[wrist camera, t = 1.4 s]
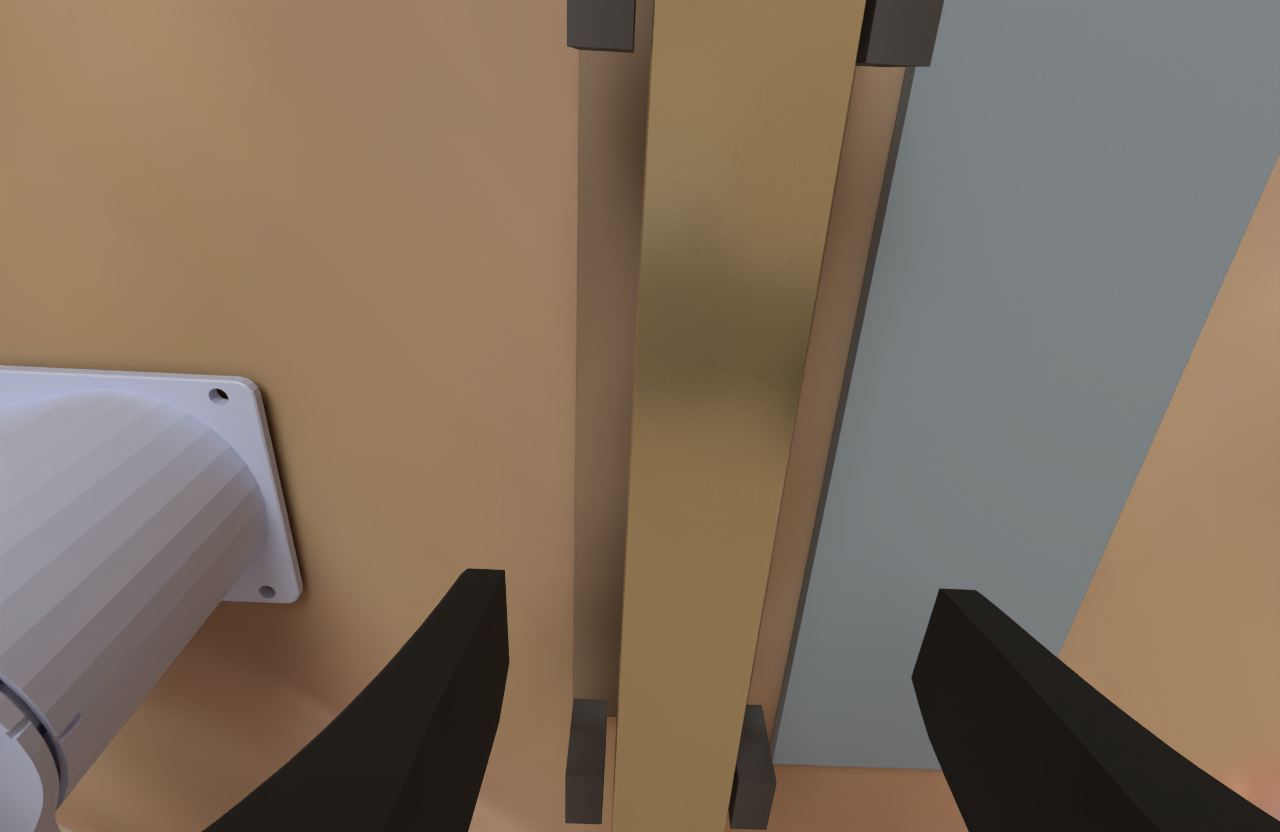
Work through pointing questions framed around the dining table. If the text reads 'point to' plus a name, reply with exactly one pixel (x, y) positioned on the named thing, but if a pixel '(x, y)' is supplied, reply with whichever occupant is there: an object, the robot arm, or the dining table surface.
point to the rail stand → (605, 356)
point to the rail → (718, 373)
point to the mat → (1019, 330)
